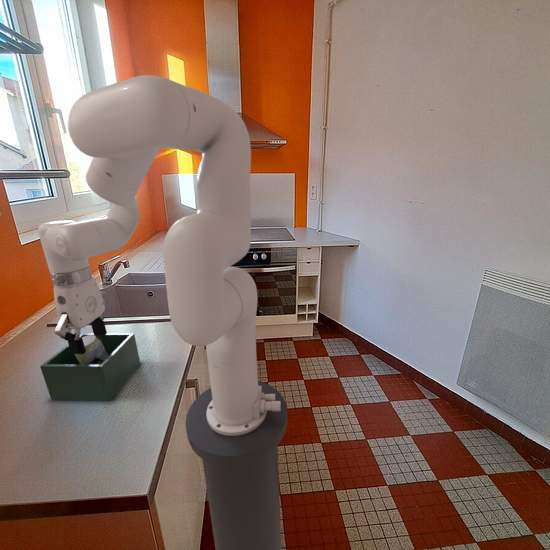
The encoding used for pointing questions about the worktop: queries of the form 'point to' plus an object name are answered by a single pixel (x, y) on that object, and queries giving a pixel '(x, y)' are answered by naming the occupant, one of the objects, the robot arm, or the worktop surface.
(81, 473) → the worktop surface
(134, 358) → the waste bin
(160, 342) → the worktop surface
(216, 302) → the robot arm
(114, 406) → the worktop surface
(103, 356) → the beverage can
